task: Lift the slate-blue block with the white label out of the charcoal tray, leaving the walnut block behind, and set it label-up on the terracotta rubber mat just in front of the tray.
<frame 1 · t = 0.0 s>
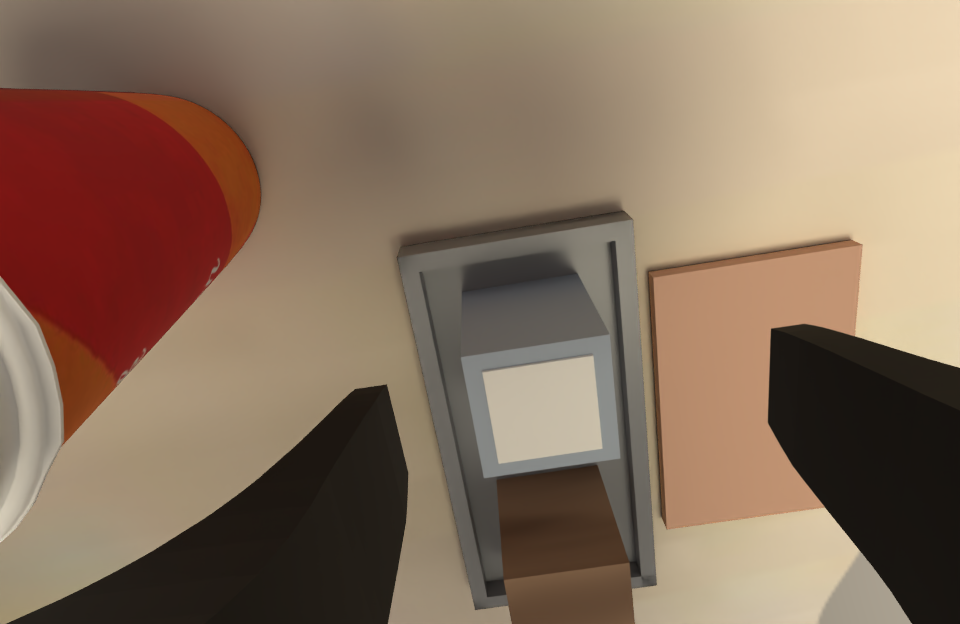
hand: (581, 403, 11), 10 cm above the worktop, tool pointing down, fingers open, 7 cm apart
parts tray: (539, 423, 23), on the worktop
rubber mat: (748, 393, 23), on the worktop
paper cup: (179, 184, 20), on the worktop
labelled block: (527, 335, 22), resting on parts tray
walnut block: (552, 512, 25), resting on parts tray
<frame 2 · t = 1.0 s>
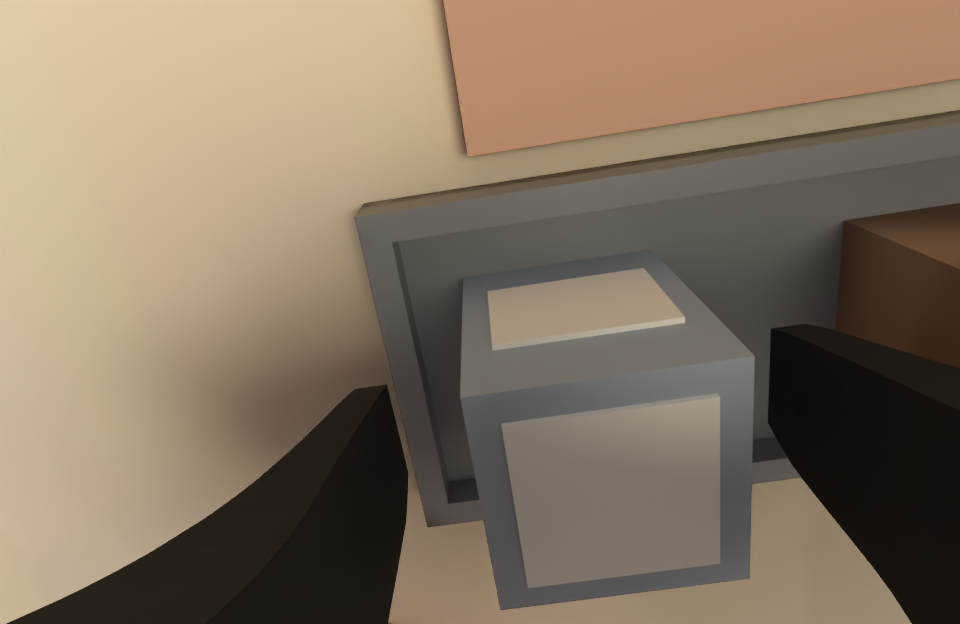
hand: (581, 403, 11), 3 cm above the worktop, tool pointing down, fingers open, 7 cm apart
parts tray: (738, 314, 14), on the worktop
labelled block: (565, 347, 14), resting on parts tray
walnut block: (929, 295, 13), resting on parts tray
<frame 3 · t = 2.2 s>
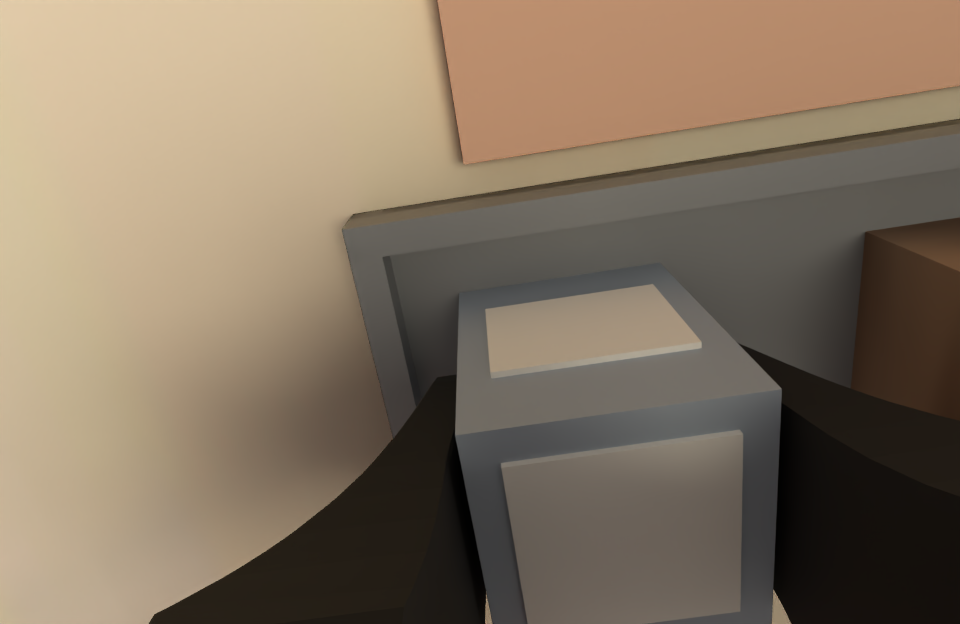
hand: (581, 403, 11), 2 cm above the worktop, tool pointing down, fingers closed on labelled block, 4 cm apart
parts tray: (751, 330, 13), on the worktop
labelled block: (568, 366, 13), resting on parts tray, touching gripper
walnut block: (955, 310, 12), resting on parts tray
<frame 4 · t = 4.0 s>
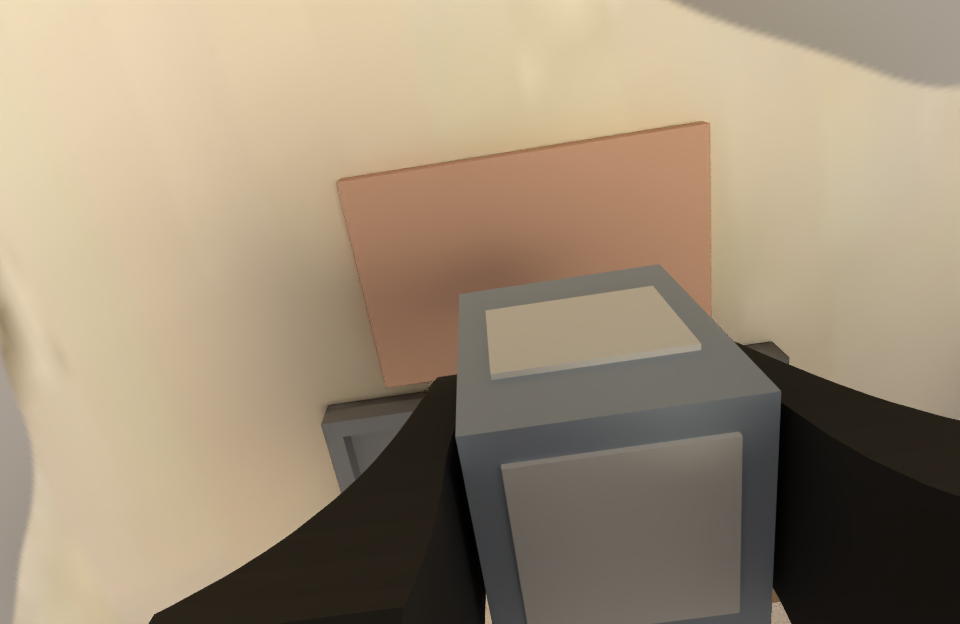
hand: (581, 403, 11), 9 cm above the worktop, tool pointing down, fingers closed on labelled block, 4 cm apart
parts tray: (558, 463, 23), on the worktop
rubber mat: (533, 260, 20), on the worktop
labelled block: (568, 367, 13), point 7 cm above the worktop, touching gripper
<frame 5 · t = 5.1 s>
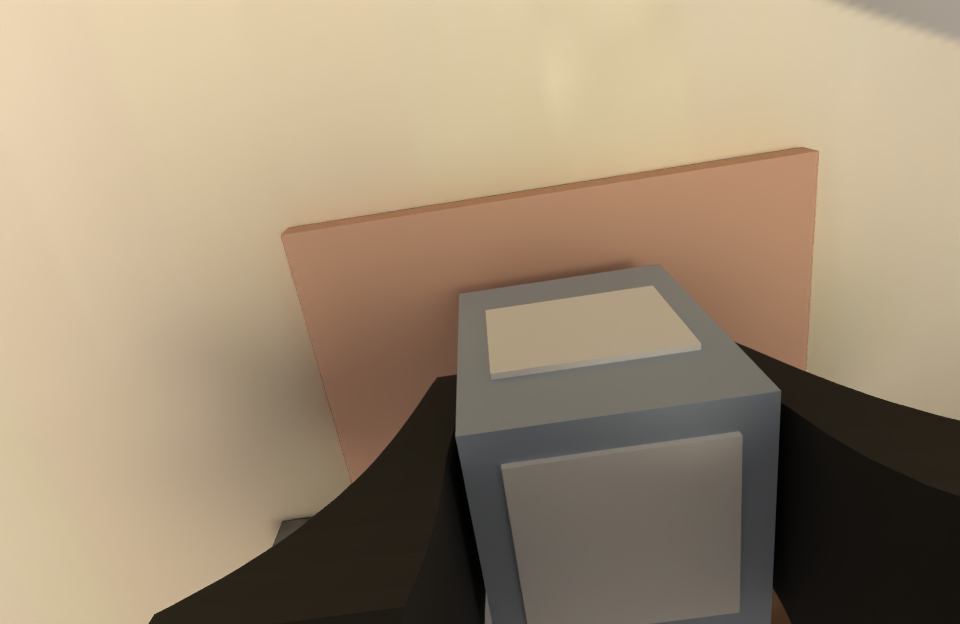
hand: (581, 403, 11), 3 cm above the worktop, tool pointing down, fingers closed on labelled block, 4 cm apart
parts tray: (587, 589, 17), on the worktop
rubber mat: (558, 336, 14), on the worktop
labelled block: (568, 367, 13), point 2 cm above the worktop, touching gripper
walnut block: (734, 582, 17), resting on parts tray
when the fingers open (3 cm above the worktop, at t = 5.9 s): labelled block stays where it is, resting on rubber mat.
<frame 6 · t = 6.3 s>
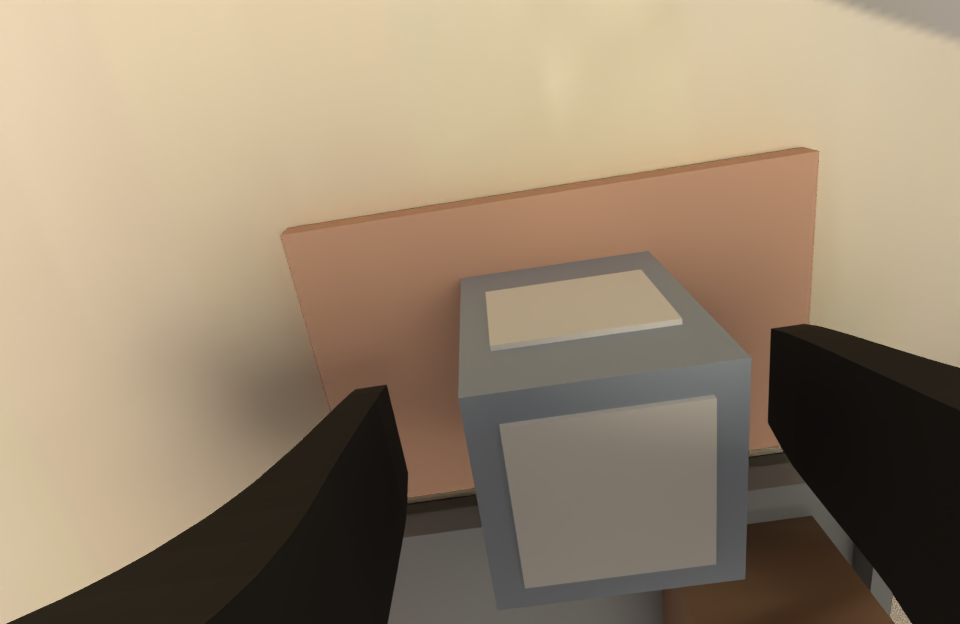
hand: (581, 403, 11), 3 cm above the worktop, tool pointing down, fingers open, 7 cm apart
parts tray: (587, 589, 17), on the worktop
rubber mat: (558, 336, 14), on the worktop
labelled block: (562, 348, 14), point 1 cm above the worktop, touching rubber mat
walnut block: (734, 582, 17), resting on parts tray
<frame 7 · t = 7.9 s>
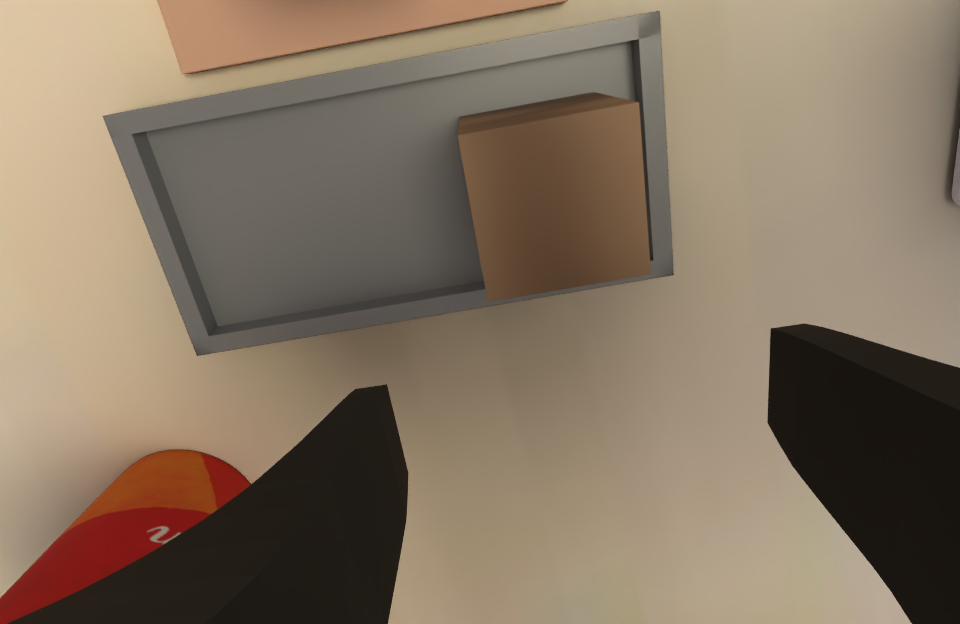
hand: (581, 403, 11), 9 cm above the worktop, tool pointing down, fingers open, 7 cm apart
parts tray: (408, 192, 19), on the worktop
paper cup: (192, 503, 24), on the worktop
walnut block: (535, 172, 19), resting on parts tray
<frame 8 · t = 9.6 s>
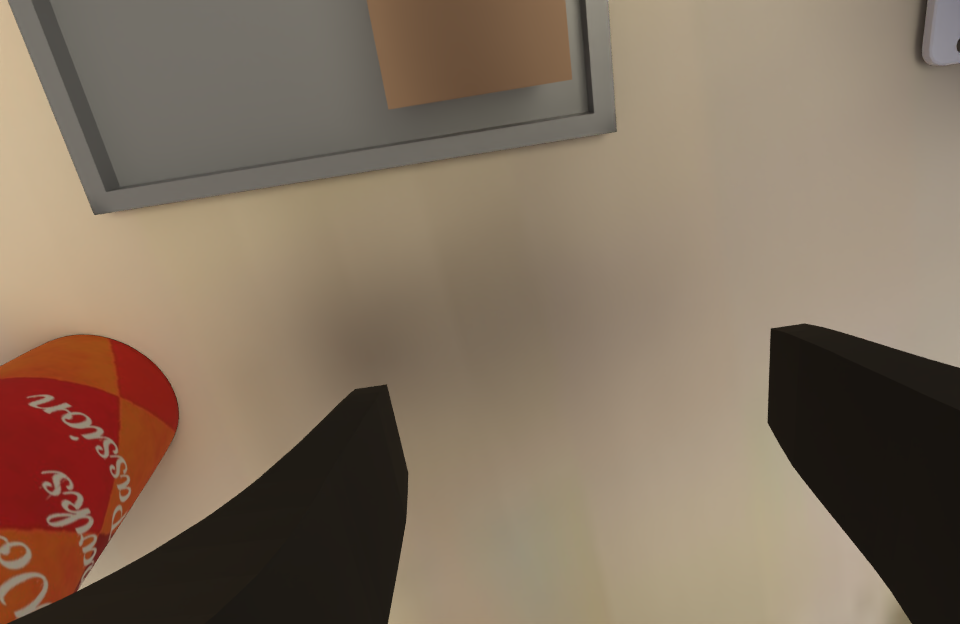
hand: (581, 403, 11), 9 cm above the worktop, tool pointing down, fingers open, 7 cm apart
parts tray: (327, 34, 17), on the worktop
paper cup: (103, 399, 22), on the worktop
walnut block: (465, 10, 17), resting on parts tray
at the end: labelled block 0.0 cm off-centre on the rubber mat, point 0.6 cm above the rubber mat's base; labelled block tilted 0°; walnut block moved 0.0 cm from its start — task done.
